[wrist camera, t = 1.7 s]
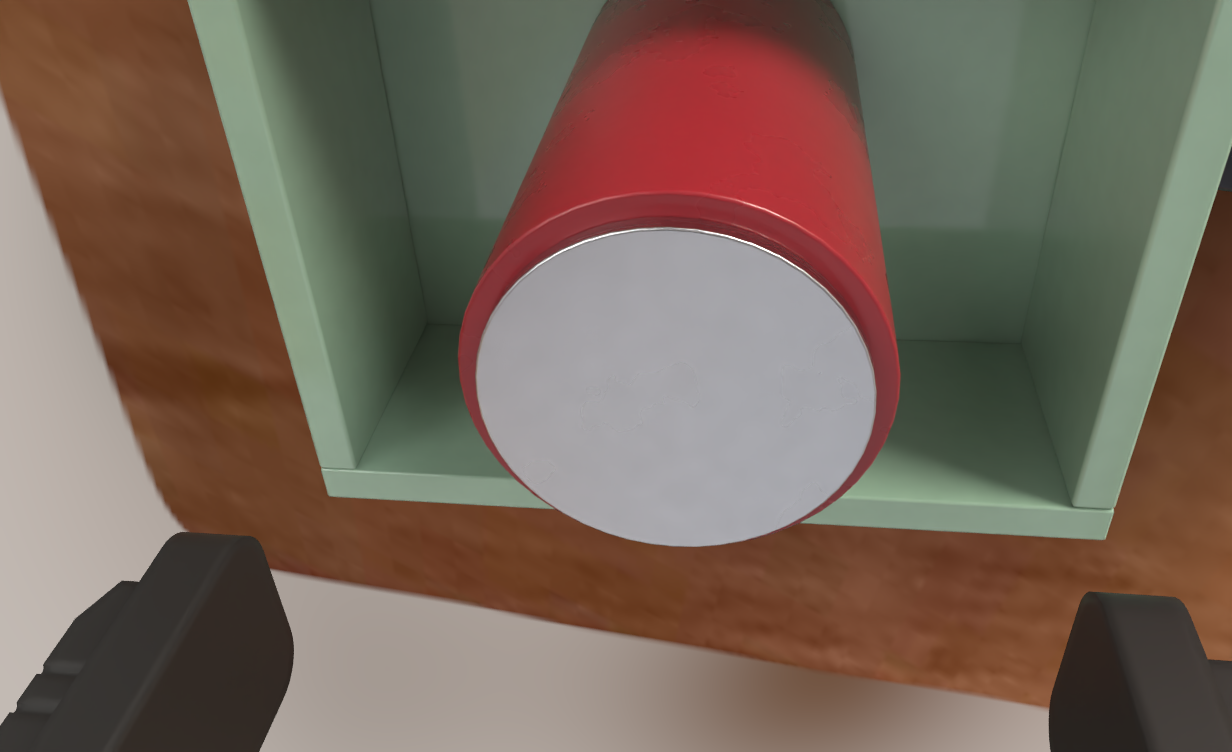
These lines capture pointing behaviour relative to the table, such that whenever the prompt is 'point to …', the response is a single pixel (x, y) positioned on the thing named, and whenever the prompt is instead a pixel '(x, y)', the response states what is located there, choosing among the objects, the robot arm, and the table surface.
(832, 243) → the can
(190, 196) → the table surface
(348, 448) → the open box
